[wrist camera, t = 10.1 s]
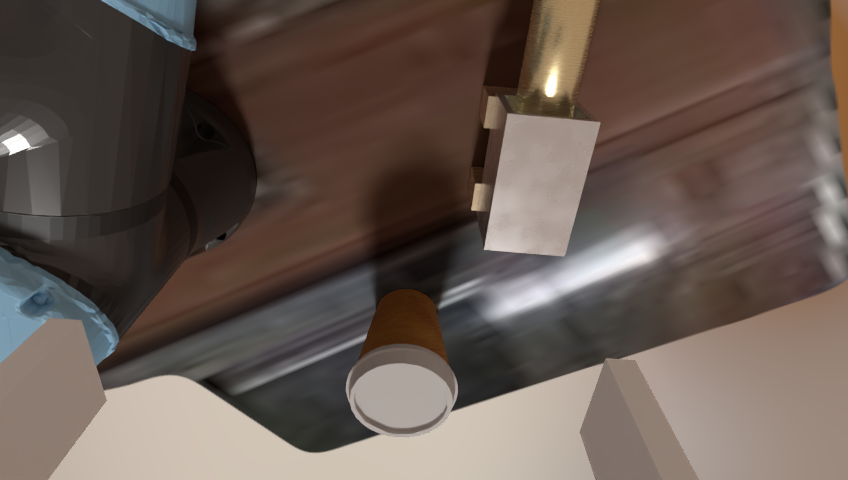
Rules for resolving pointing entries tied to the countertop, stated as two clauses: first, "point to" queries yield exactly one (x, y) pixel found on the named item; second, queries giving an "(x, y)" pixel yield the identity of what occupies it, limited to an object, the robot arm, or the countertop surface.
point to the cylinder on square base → (555, 56)
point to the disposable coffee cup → (403, 369)
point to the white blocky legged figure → (530, 175)
